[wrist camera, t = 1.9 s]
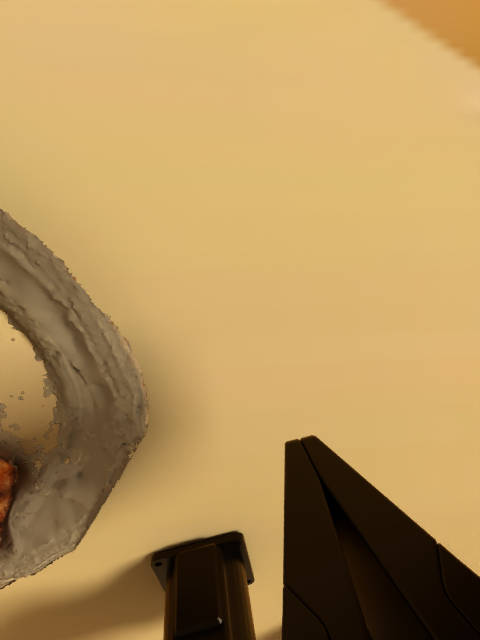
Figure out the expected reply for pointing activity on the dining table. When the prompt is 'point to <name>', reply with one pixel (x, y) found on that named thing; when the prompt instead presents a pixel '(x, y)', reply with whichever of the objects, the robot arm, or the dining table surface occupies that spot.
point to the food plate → (62, 408)
